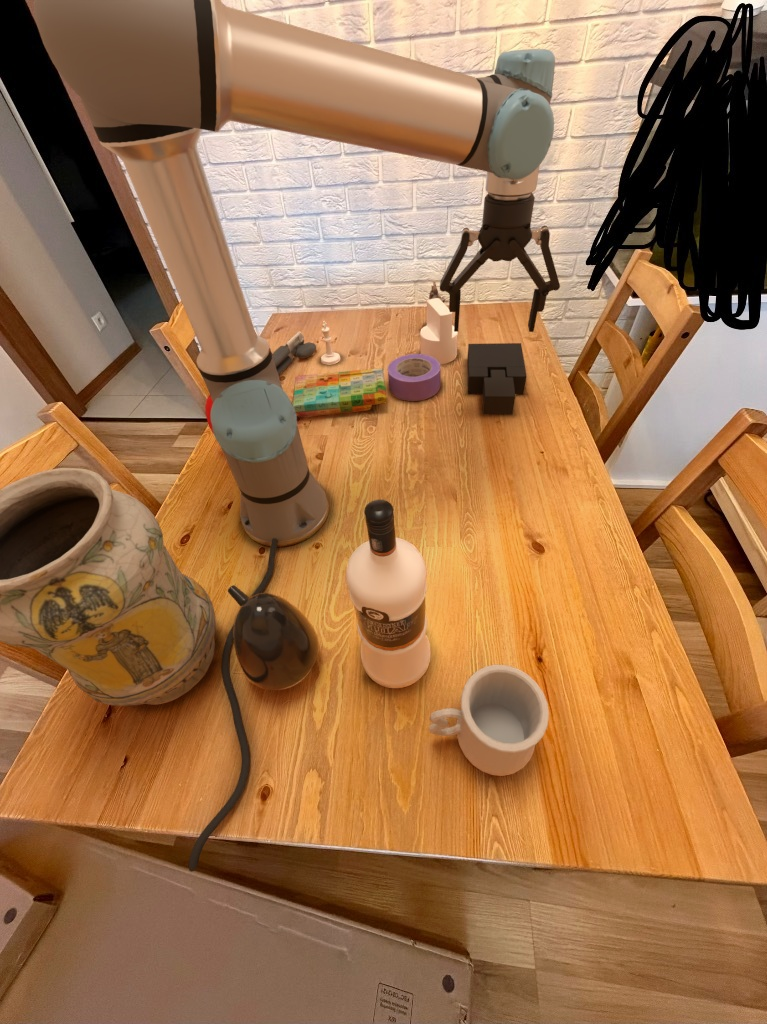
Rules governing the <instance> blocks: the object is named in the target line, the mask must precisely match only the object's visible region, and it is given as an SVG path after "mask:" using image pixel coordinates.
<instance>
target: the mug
mask: <svg viewBox="0 0 767 1024" xmlns="http://www.w3.org/2000/svg"><path fill="white" fill-rule="evenodd" d="M448 718H453V719H457V721H456V724H455V725H453V726H449V724H450V723H449V720H448ZM549 719H550V711H549V703H548V700H547V698H546V695H545V693H544V691H543V689H542V688H541V687H540V685H539V683H538V682H536V680H535V679H533V677H531V676H530V675H529V674H527V673H526V672H524V671H523V670H521V669H519V668H517V667H515V666H511V665H508V664H490V665H485V666H484V667H482V668H480V669H478V670H476V671H475V672H474V673H473V674H472V675H471V676H469V677H468V679H467V680H466V682H465V684H464V686H463V689H462V692H461V696H460V709H458V708H452V707H449V708H448V707H447V708H441V709H438V710H435V711H433V712H431V713H430V716H429V721H430V722H431V724H430V725H429V728H428V731H429V733H430V734H432V735H434V736H438V737H452V736H455V735H456V738H457V741H458V745H459V747H460V750H461V752H462V754H463V755H464V757H465V758H466V759H467V760H468V762H469V763H470V764H471V765H472V766H474V767H475V768H476V769H478V770H479V771H481V772H482V773H485V774H489V775H491V776H498V777H499V776H500V777H504V776H509V775H514V774H515V773H517V772H519V771H521V770H523V769H524V768H525V766H527V764H528V763H529V762H530V761H531V759H532V756H533V755H534V752H535V747H536V746H537V744H538V743H539V742H540V741H541V740H542V738H544V735H545V733H546V731H547V730H548V726H549Z"/></svg>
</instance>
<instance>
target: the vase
mask: <svg viewBox="0 0 767 1024" xmlns="http://www.w3.org/2000/svg"><path fill="white" fill-rule="evenodd" d="M215 634H216V612H215V608H214V605H213V601H212V600H211V597H210V596H209V594H208V592H207V591H206V590H205V589H204V587H202V585H201V584H199V583H198V582H197V581H196V580H195V579H193V578H191V577H190V576H188V575H186V574H184V573H182V571H181V570H180V568H179V567H178V565H177V564H176V562H175V561H174V559H173V556H172V555H171V554H170V552H169V550H168V549H167V547H166V546H165V543H164V534H163V530H162V528H161V526H160V524H159V521H158V520H157V518H156V517H155V515H154V514H153V512H152V511H151V510H150V509H149V508H148V507H147V506H146V505H145V504H144V503H142V502H141V501H139V499H137V498H135V497H134V496H132V495H130V494H128V493H125V492H122V491H119V490H116V489H112V488H111V486H110V485H109V483H108V481H107V480H106V479H105V478H104V477H102V475H101V474H99V473H98V472H95V471H93V470H90V469H85V468H81V467H80V468H79V467H59V468H53V469H48V470H42V471H39V472H36V473H33V474H30V475H26V476H24V477H22V478H20V479H18V480H16V481H13V482H11V483H9V484H7V485H4V486H3V487H2V488H1V489H0V642H1V643H4V644H6V645H9V646H13V647H18V648H22V649H33V650H35V651H36V652H39V654H41V655H43V656H45V657H46V658H48V659H49V660H51V661H53V662H54V663H56V664H58V665H60V666H61V667H63V668H64V669H66V670H67V671H68V673H69V675H70V677H71V678H72V680H73V682H74V683H75V685H76V686H77V687H78V688H79V689H80V690H81V691H82V692H83V693H85V694H86V695H87V696H89V698H91V699H92V700H94V701H96V702H99V703H101V704H104V705H108V706H109V705H110V706H114V707H115V706H116V707H132V706H140V705H144V704H146V705H162V704H166V703H169V702H172V701H175V700H177V699H178V698H180V697H181V696H184V695H185V694H187V693H188V692H190V691H191V690H193V688H194V687H195V686H196V685H197V684H199V682H200V681H201V680H202V679H203V677H204V676H206V674H207V672H208V670H209V668H210V666H211V664H212V662H213V659H214V656H215V655H214V654H215V647H216V642H215V641H216V640H215Z"/></svg>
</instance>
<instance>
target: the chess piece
mask: <svg viewBox="0 0 767 1024" xmlns="http://www.w3.org/2000/svg"><path fill="white" fill-rule="evenodd" d="M327 325H328V322H327V321H326V320H322V328H321V333H322V335H323V338H322V341H323V342H325V353H324V354H322V355H321V357H320V362H321V364H323V365H327V366H331V365H335V364H338V363H339V362H340V361H341V355H340V353H338V352H335V351H333V348H332V345H331V340H332V337H331V335H330V331H331V327H328V326H327Z"/></svg>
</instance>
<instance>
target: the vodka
mask: <svg viewBox="0 0 767 1024" xmlns="http://www.w3.org/2000/svg"><path fill="white" fill-rule="evenodd" d="M363 512H364V517H365V523H366V530H367V536H368V537H367V538H368V540H367V541H364V542H363V543H361V544H360V545H359V546H357V548H356V549H355V550H354V551H353V552H352V554H351V556H350V557H349V558H348V561H347V566H346V570H345V581H346V586H347V589H348V593H349V599H350V600H351V603H352V604H353V608H354V612H355V616H356V628H357V632H358V635H359V637H360V639H361V644H360V659H361V663H362V667H363V670H364V671H365V673H366V674H367V676H368V677H369V678H370V679H371V680H372V681H374V683H376V684H378V685H379V686H382V687H385V688H389V689H402V688H405V687H409V686H412V685H413V684H415V683H416V682H418V681H419V680H421V679H422V677H423V676H424V675H425V674H426V672H427V671H428V668H429V666H430V663H431V643H430V640H429V637H428V635H427V634H426V633H427V629H428V617H427V613H426V595H427V591H428V590H427V589H428V585H427V584H428V583H427V577H428V569H427V564H426V561H425V559H424V557H423V555H422V554H421V552H420V550H419V549H418V548H417V547H416V546H415V545H413V544H412V543H411V542H409V540H406V539H404V538H401V537H397V536H396V525H395V514H394V513H395V511H394V506H393V504H392V503H391V502H390V501H388V500H385V499H378V498H377V499H374V500H371V501H369V502H368V503H367V504H366V505H365V507H364V510H363Z"/></svg>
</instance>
